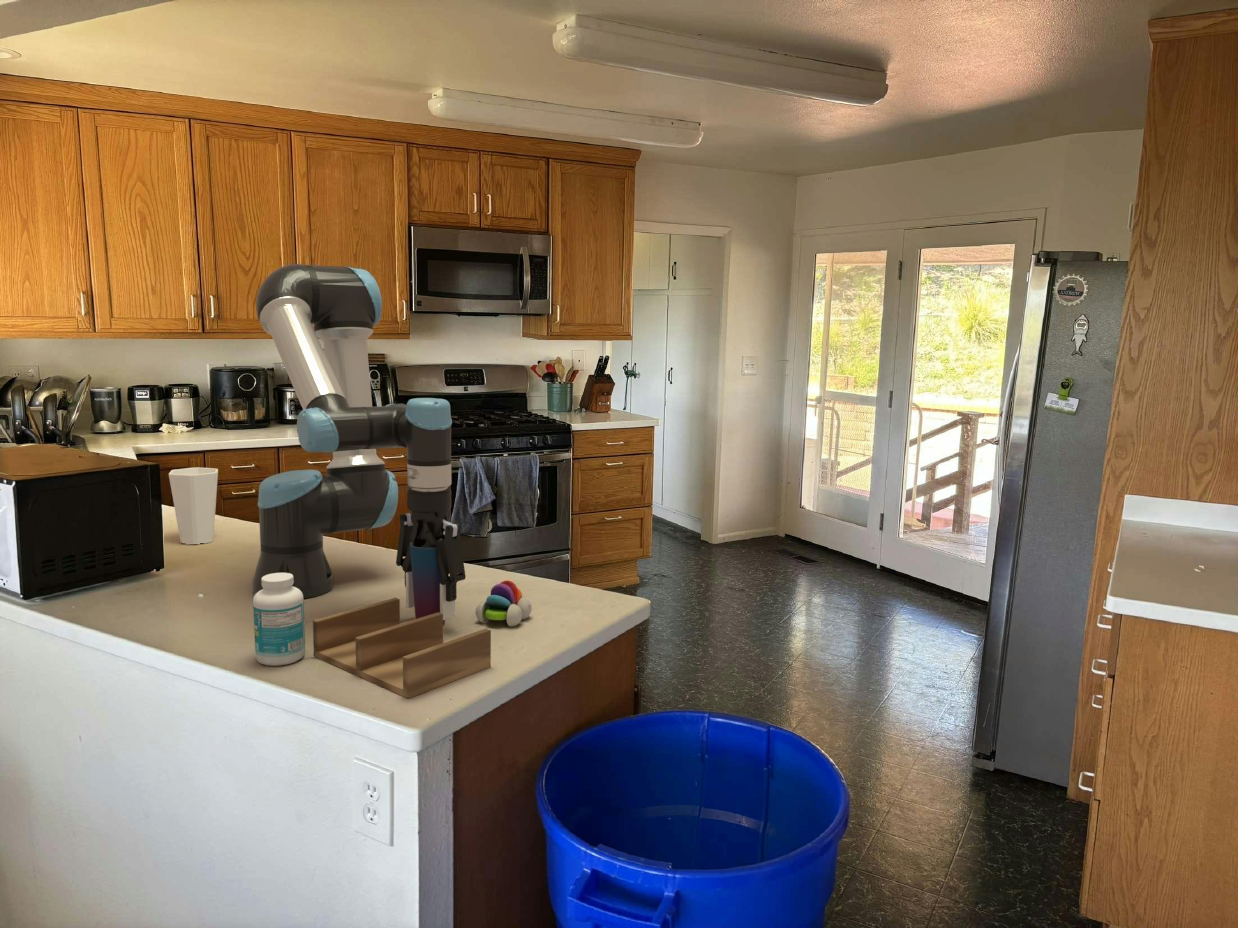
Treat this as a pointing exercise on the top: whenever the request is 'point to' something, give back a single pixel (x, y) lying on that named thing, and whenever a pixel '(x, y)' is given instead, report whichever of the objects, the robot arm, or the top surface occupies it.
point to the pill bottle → (279, 621)
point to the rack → (398, 648)
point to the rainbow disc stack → (504, 605)
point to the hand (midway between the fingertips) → (430, 611)
